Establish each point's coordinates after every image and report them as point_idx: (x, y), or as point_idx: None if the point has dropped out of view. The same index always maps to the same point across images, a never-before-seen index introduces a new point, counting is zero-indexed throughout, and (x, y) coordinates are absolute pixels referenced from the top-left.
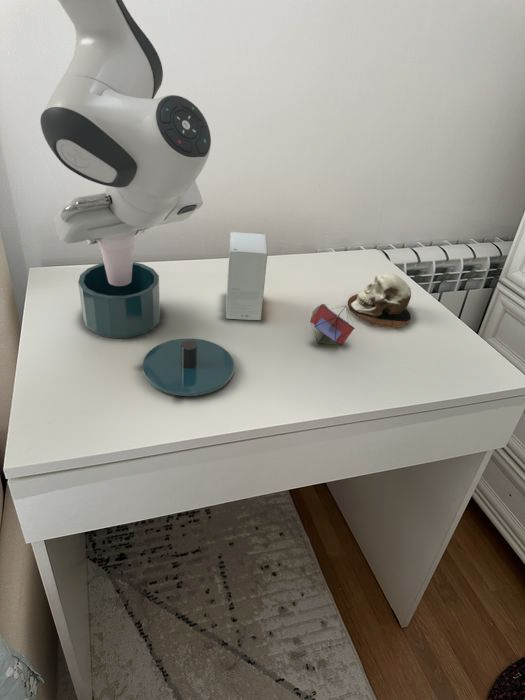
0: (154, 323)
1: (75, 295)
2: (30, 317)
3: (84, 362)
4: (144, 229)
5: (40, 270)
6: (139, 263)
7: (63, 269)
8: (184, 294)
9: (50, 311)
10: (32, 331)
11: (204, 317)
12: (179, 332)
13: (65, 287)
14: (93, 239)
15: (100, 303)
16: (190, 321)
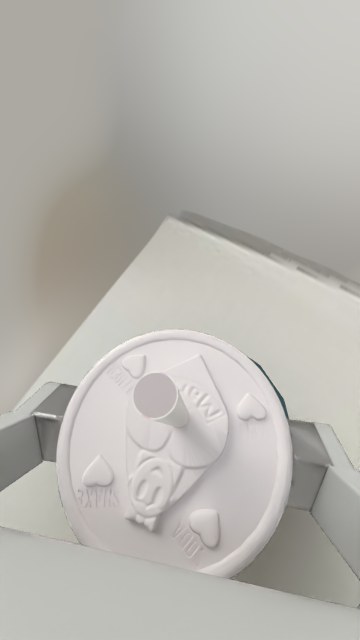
0: None
1: (167, 315)
2: (77, 333)
3: (42, 527)
4: (320, 525)
5: (169, 226)
6: (277, 391)
7: (198, 239)
8: (348, 439)
9: (109, 335)
10: (53, 371)
11: (343, 569)
12: (254, 581)
13: (169, 286)
14: (11, 482)
15: None
16: (302, 557)
